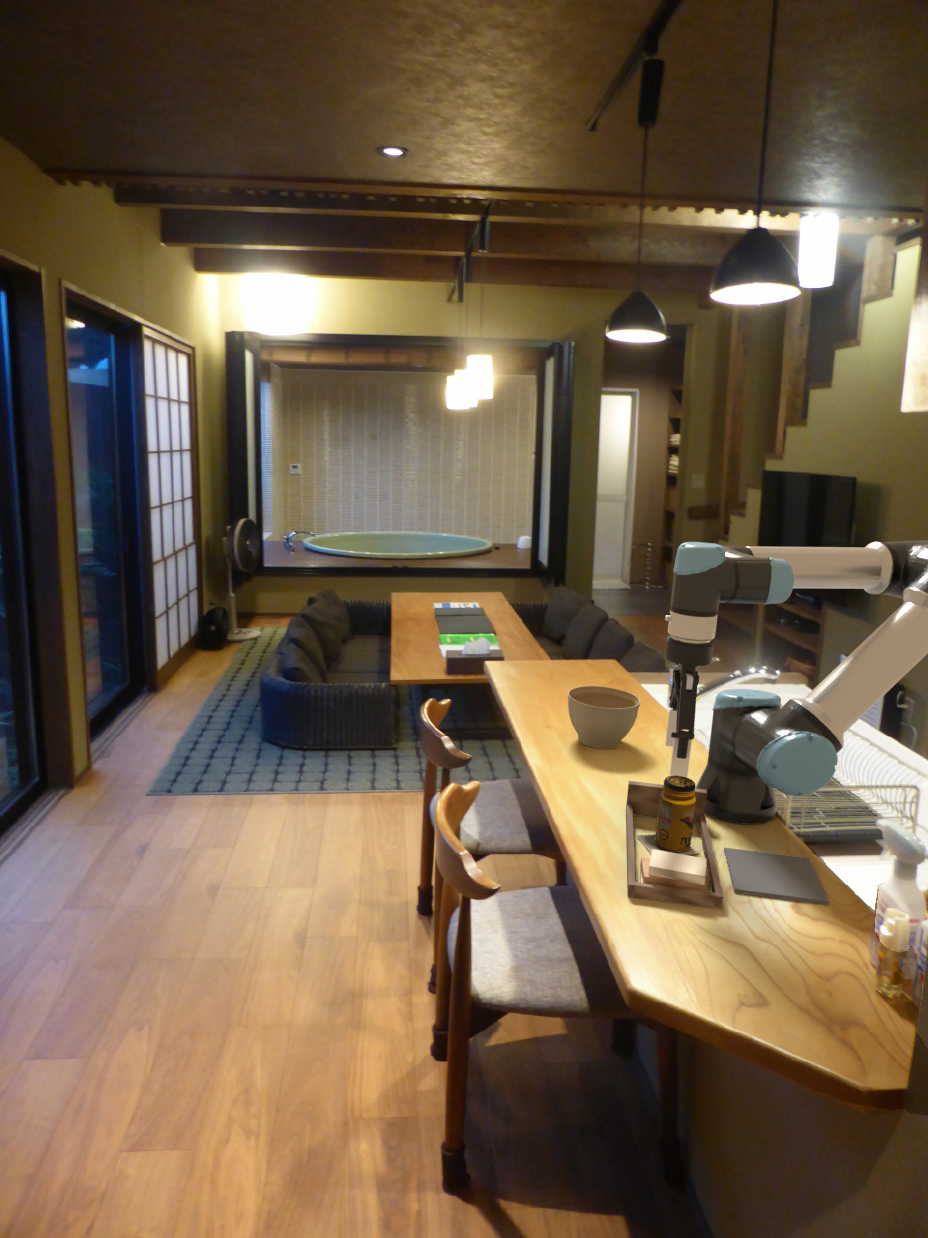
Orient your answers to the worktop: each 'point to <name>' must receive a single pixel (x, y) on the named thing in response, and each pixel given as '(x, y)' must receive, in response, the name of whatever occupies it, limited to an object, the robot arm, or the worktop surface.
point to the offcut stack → (674, 870)
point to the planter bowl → (602, 714)
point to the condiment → (674, 818)
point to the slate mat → (774, 876)
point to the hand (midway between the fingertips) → (675, 760)
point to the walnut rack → (646, 804)
